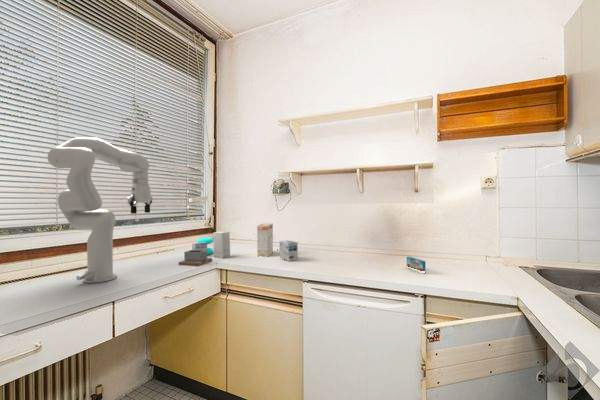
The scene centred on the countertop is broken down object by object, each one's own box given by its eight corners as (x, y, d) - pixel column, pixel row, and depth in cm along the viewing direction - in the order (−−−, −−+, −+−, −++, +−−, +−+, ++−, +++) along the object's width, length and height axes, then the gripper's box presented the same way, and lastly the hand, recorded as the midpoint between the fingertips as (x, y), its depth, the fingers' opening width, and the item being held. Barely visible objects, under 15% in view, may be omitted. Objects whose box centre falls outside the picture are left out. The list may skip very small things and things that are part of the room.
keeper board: (197, 266, 157) (197, 256, 157) (178, 264, 160) (178, 254, 160) (212, 260, 171) (212, 251, 171) (194, 259, 174) (193, 250, 174)
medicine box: (195, 258, 179) (194, 243, 179) (192, 256, 182) (192, 243, 182) (207, 256, 184) (207, 242, 184) (204, 255, 187) (204, 241, 187)
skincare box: (230, 256, 182) (230, 231, 182) (222, 258, 176) (222, 232, 176) (221, 255, 186) (220, 231, 186) (212, 257, 181) (212, 232, 181)
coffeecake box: (263, 252, 198) (263, 223, 198) (273, 252, 197) (273, 223, 197) (256, 256, 183) (256, 225, 183) (267, 256, 182) (267, 225, 182)
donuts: (213, 239, 189) (196, 239, 186) (213, 254, 189) (196, 255, 186) (212, 237, 198) (197, 237, 195) (212, 251, 198) (197, 252, 196)
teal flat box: (425, 273, 142) (425, 261, 142) (422, 274, 142) (422, 261, 142) (409, 268, 154) (409, 256, 154) (406, 268, 153) (406, 256, 153)
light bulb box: (298, 260, 172) (298, 242, 172) (288, 261, 168) (288, 243, 168) (288, 257, 181) (288, 239, 181) (279, 258, 177) (279, 240, 177)
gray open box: (200, 261, 161) (200, 252, 161) (184, 260, 164) (184, 251, 164) (206, 259, 167) (206, 250, 167) (191, 258, 170) (191, 249, 170)
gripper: (133, 181, 153) (133, 214, 153) (157, 182, 170) (157, 212, 170) (121, 181, 155) (122, 213, 155) (146, 183, 172) (146, 212, 172)
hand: (140, 213), depth 163 cm, fingers open, 9 cm apart
